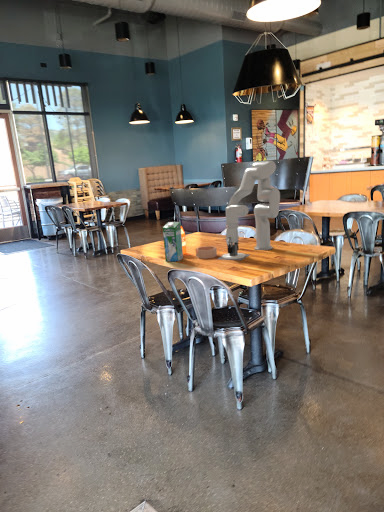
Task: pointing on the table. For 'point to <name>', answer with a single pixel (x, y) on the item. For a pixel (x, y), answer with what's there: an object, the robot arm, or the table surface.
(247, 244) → the table surface
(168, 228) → the milk carton
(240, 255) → the lid
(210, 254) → the bowl
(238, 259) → the mat
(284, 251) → the table surface
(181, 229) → the orange juice
